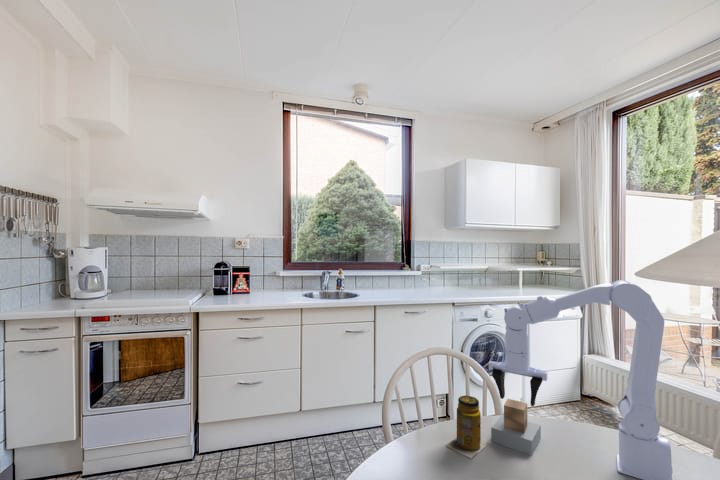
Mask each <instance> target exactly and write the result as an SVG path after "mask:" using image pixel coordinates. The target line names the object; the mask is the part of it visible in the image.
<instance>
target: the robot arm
mask: <svg viewBox="0 0 720 480" xmlns="http://www.w3.org/2000/svg"><path fill="white" fill-rule="evenodd" d="M611 302H612V303H613V304H614V305H615V306H616V307H617V308H619V309H621V310H622V311H624V312H626V313H627V314H628V315H629V316H630V317H631V318H632V319H633V320H634V321H635V331H634V337H633V346H632V350H631V352H632V353H631V358H630V360H631V361H630V365H629V373H628V381H627V386H626V387H625V390H624V394H623V396H622V397H621V398H620V399H619V401H618V404H617V409H618V411H619V414H620V415H621V417H622V420H621V421H620V422H619V423H618V453H617V454H616V462H617V463H616V464H617V465H616V466H617V472H618V473H620V474H623V475H626V476H630V477H632V478H633V477H634V478H637V479H639V480H673V465H672V450H671V449H672V447H671V442H670V440H669V438H667V437H663V436H662V435H659V433H660V429H661V428H660V422H659V420H658V419H657V404H656V399H655V393H656V388H657V380H658V372H659V365H660V359H661V351H662V349H661V348H662V345H663V344H662V342H663V336H664V328H665V319H664V316H663V315H662V313H661V311H660V310H659V309H658V307H657V306H656V303H655V302H654V300H653V299H652V296H651V295H650V294H649V293H648V292H647V291H645V290H644V289H642V288H641V287H640V286H638V285H637V284H634V283H632V282H629V281H627V280H622V279H621V280H615V281H613V282H611V283H610V282H606V283H601V284H596V285H592V286H590V287H585V288H583V289H581V290H578V291H575V292H572V293H569V294H567V295H564V296H560V297H557V298H552V297H549V296H544V297H543V296H542V295H539V296H537V297H536V299H534V300H531V301H528V302H520V303H519V304H518V305H512V306H511V307H509V308H507V310H506V311H505V314H504V318H503V320H504V324H505V333H504V334H505V335H504V336H505V337H504V338H505V339H504V341H505V343H504V344H505V346H504V347H505V362H501V361H492V360H490V361H489V362H488V370H489V371H490V370H491V371H492V372H491V376H492V378H493V380H494V382H495V385H496V386H497V389H498V393H499V397H500V399H501V400H503V399H504V398H505V395H506V391H505V390H506V389H505V388H506V387H505V378H506V375H505V374H506V373H509V374H514V375H519V376H522V377H523V376H525V377H528V378H531V379H530V381H529V384H530V406H531V407H534V406H535V405H536V399H537V394H538V392H539V388H540V386H541V385H542V383H543V381H545V382H547V381H548V371H546V370H542V369H538V368H536V367H535V368H534V367H532V366H529V361H530V360H529V335H528V324H529V325H530V324H531V325H536V324H538V323H542V322H546V321H549V320H553V319H556V318H558V316H559V314H560V312H561V311H566V310H569V309H574V308H577V307H581V306H585V305H589V304H593V303H596V304H602V305H606V306H611Z"/></svg>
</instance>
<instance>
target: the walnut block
mask: <svg viewBox="0 0 720 480" xmlns="http://www.w3.org/2000/svg"><path fill="white" fill-rule="evenodd" d="M503 414H504V428H506V429H510V430H514V431H517V432H521V433H525V430H526V428H527V421H528V403H527V402H523V401H518V400H514V399H510V398H507V399H506V400H505V403H504V404H503Z"/></svg>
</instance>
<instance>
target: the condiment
mask: <svg viewBox="0 0 720 480" xmlns="http://www.w3.org/2000/svg"><path fill="white" fill-rule="evenodd" d="M457 400H458V403H457V408H456V438H454V439H453V440H451V441H450V442H448V443H447V444H445V446H446V447H448V448H449V449H451V450H453V451H454V452H456V453H459V454H461V455H463V456H465V457H468V458H470V459H472V458H474V457H475V455H477V454H478V453H479V452H481V451H482V450H483V449H485V448H486V446H487V445H488V444H486V443H484V442H481V441H482V440H481V436H482V434H481V428H482V426H481V423H482V422H481V420H482V419H481V411H480V401H479V399H478V398H476V397H475V396H470V395H461V396H459V397H458V399H457Z"/></svg>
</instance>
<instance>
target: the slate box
mask: <svg viewBox="0 0 720 480" xmlns="http://www.w3.org/2000/svg"><path fill="white" fill-rule="evenodd" d="M541 427H542V426H541V424H537V423H535V422H530V421H528V420H527V428H526V430H525V433H521V432H517V431H514V430H510V429H506V428H504V413H503V414H501V416H500V417H498V419H497V420H496V421H495V423H494V424H493V425H492V426H491V427H490V429H491V431H490V432H491V434H490V435H491V438H490V439H491V442H493V443H496V444H498V445H499V444H500V445H501V446H504V447H507V448H510V449H513V450H516V451H519V452H522V453H525V454H527V455H530V456H533V454H534V452H535V450H536V448H537V446H538V445H539V443H540V440H541V438H542V434H541V431H542V429H541Z"/></svg>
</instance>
